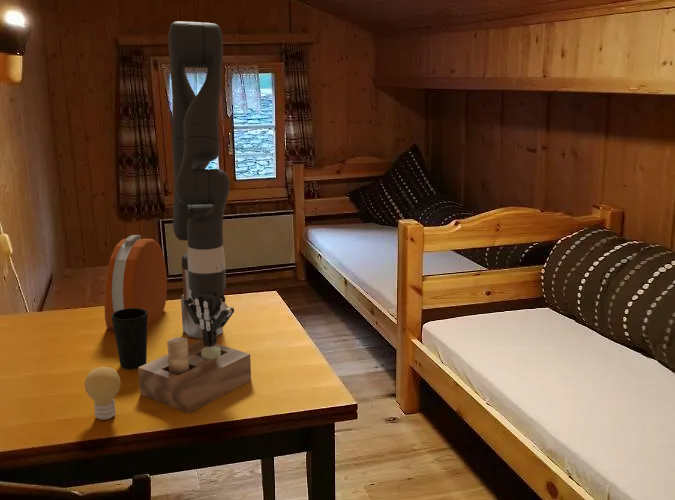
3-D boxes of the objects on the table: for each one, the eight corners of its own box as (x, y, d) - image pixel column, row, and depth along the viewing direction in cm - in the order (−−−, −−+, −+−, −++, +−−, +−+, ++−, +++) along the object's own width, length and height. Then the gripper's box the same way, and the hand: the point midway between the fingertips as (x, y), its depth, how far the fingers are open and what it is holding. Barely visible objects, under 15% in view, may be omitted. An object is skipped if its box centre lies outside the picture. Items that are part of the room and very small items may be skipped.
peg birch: (165, 373, 142) (162, 341, 140) (179, 366, 145) (178, 335, 143) (178, 378, 140) (176, 346, 138) (193, 371, 143) (192, 340, 141)
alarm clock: (135, 305, 197) (129, 225, 191) (169, 306, 195) (164, 227, 190) (99, 334, 176) (91, 246, 170) (136, 336, 174) (130, 247, 168)
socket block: (140, 394, 144) (138, 367, 142) (204, 364, 158) (202, 339, 157) (188, 413, 136) (186, 384, 135) (251, 380, 151) (250, 354, 149)
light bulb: (92, 409, 138) (88, 361, 135) (126, 408, 138) (122, 360, 136) (84, 425, 132) (79, 376, 129) (119, 424, 132) (115, 375, 130)
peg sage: (198, 380, 150) (197, 350, 149) (212, 373, 154) (210, 344, 152) (212, 385, 148) (210, 355, 146) (225, 378, 151) (224, 349, 150)
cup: (157, 360, 161) (154, 310, 157) (138, 373, 154) (134, 321, 151) (129, 355, 163) (125, 306, 160) (108, 368, 156) (103, 317, 153)
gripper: (170, 265, 145) (175, 343, 150) (216, 276, 138) (220, 358, 142) (197, 257, 151) (200, 332, 156) (243, 267, 144) (245, 346, 148)
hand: (210, 345), depth 149 cm, fingers closed
